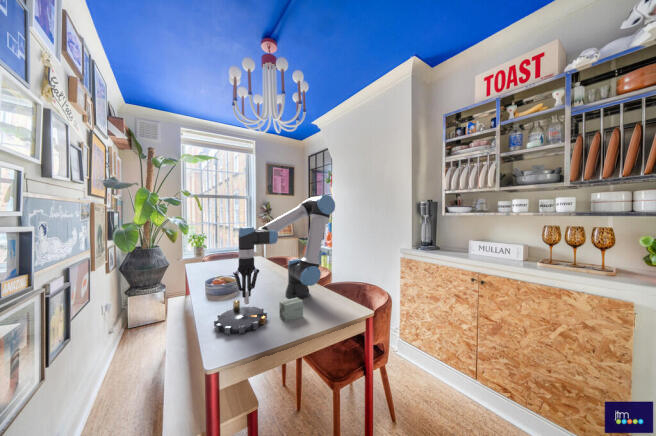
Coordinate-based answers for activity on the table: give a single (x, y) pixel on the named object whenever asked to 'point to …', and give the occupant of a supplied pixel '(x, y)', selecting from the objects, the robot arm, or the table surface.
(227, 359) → the table surface
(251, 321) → the sprocket wheel
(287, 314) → the link block
